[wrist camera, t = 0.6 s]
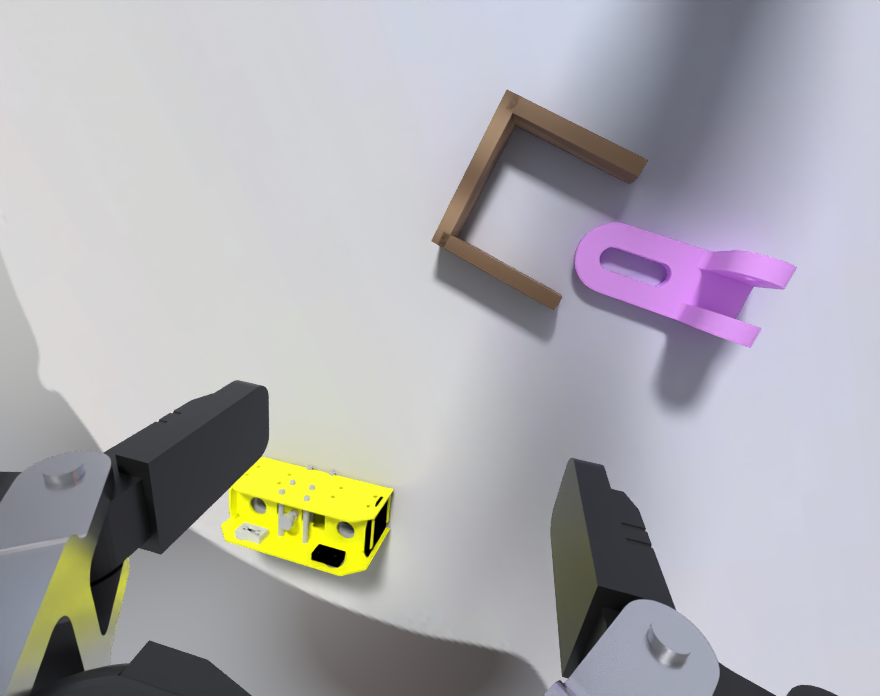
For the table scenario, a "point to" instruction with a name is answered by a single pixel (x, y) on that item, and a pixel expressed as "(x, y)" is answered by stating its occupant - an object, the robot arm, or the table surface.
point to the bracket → (683, 279)
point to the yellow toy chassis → (308, 516)
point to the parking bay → (494, 140)
